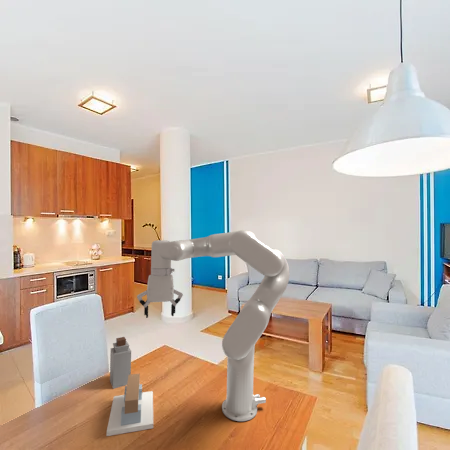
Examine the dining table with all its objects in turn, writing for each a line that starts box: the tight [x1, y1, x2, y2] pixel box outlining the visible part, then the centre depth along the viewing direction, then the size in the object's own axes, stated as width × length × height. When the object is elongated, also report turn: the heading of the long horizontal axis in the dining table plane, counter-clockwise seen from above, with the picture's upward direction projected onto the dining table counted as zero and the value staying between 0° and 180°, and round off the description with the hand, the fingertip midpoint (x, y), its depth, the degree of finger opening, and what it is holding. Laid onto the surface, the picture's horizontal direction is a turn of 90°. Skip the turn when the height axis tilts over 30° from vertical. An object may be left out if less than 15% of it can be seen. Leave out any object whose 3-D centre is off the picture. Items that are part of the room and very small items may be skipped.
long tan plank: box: [125, 373, 141, 414], centre depth 95 cm, size 4×16×4 cm, turn 16°
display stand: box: [106, 383, 154, 437], centre depth 95 cm, size 14×18×6 cm
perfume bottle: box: [109, 336, 132, 389], centre depth 113 cm, size 7×7×18 cm
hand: (159, 316), depth 106 cm, fingers open, 9 cm apart
